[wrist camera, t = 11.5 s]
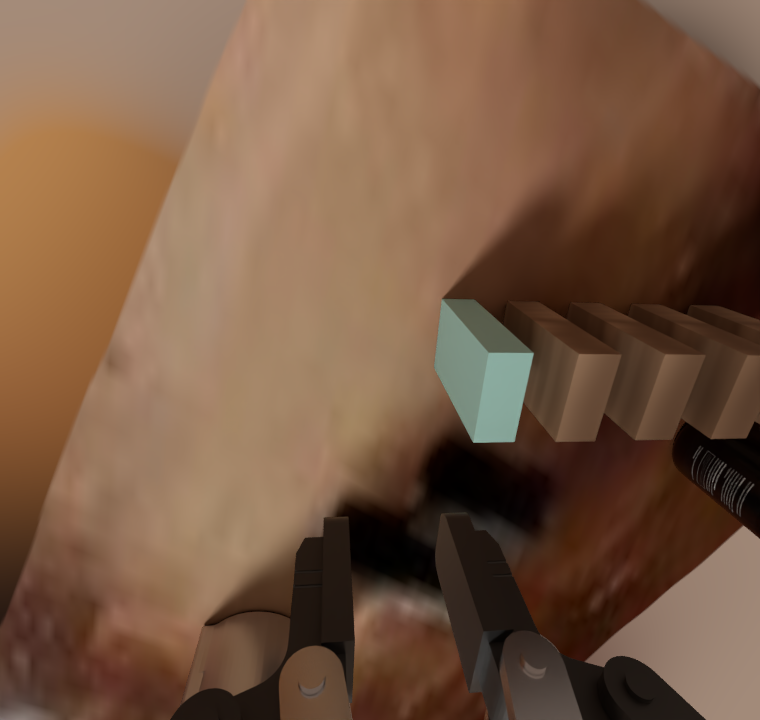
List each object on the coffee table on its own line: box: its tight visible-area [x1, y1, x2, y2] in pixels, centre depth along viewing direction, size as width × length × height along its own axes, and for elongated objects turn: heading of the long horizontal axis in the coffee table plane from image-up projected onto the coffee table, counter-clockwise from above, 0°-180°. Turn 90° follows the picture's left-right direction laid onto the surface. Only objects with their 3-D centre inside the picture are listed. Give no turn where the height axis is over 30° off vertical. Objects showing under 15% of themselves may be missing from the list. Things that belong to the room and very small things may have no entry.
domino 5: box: [687, 305, 760, 424], centre depth 27 cm, size 2×5×9 cm, turn 176°
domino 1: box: [434, 299, 534, 443], centre depth 25 cm, size 2×5×9 cm, turn 177°
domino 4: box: [628, 304, 760, 439], centre depth 26 cm, size 2×5×9 cm, turn 176°
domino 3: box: [566, 302, 706, 440], centre depth 26 cm, size 2×5×9 cm, turn 176°
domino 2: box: [503, 301, 622, 442], centre depth 25 cm, size 2×5×9 cm, turn 176°
